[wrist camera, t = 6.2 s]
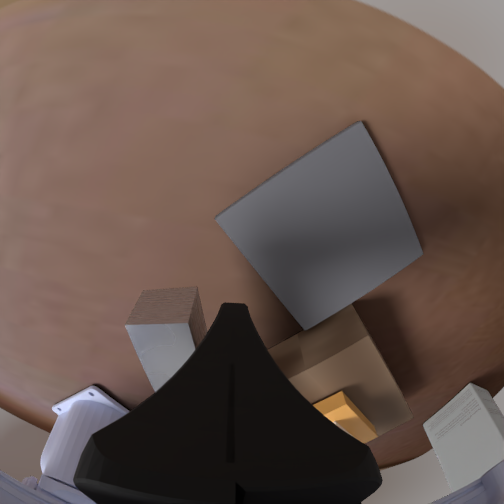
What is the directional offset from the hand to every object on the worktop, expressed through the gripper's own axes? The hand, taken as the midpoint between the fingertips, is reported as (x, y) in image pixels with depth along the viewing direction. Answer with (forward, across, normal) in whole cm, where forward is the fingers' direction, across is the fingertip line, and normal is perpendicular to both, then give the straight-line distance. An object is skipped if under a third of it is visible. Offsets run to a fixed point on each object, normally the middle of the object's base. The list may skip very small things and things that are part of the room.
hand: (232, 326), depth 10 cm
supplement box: (+5, -26, +17) cm, 31 cm away
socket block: (+5, -6, +10) cm, 13 cm away
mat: (+5, -5, -2) cm, 7 cm away
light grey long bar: (+2, +1, +5) cm, 6 cm away
